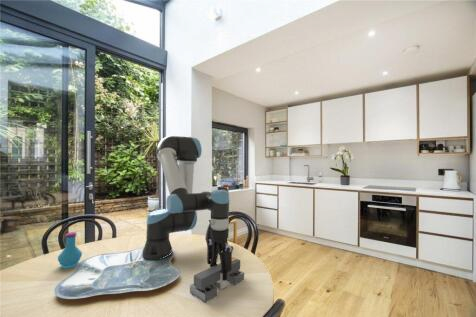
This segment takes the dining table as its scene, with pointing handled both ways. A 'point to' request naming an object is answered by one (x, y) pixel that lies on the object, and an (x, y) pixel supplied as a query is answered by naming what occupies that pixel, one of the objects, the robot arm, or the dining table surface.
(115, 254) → the dining table surface
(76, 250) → the perfume bottle
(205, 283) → the grey rectangular bar
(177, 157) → the robot arm
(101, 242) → the dining table surface
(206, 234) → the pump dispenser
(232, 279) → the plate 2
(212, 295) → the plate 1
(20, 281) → the dining table surface
